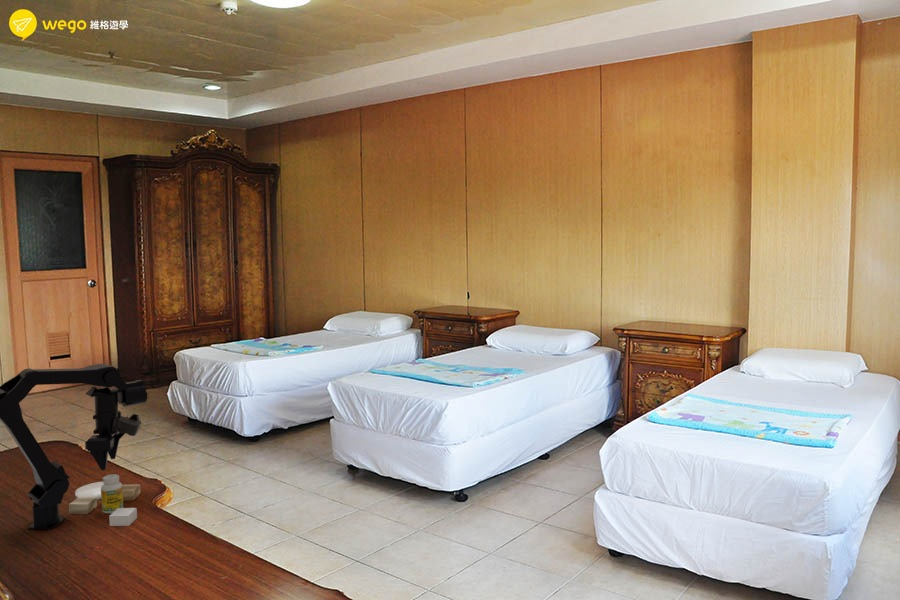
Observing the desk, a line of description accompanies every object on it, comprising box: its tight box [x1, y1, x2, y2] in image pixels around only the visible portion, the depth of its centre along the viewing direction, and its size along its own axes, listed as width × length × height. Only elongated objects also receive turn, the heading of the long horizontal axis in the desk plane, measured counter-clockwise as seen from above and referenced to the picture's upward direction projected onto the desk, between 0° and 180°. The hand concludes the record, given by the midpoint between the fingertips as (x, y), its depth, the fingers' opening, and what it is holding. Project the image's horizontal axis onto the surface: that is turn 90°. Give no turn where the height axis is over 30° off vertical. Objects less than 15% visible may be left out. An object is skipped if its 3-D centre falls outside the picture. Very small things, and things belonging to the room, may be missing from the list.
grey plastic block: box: [108, 507, 138, 527], centre depth 180 cm, size 5×5×3 cm
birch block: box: [68, 497, 98, 515], centre depth 187 cm, size 5×5×3 cm
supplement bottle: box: [100, 473, 124, 514], centre depth 187 cm, size 5×5×10 cm
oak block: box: [122, 484, 141, 501], centre depth 196 cm, size 5×5×3 cm
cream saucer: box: [74, 481, 104, 500], centre depth 200 cm, size 12×12×1 cm
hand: (108, 464), depth 188 cm, fingers open, 9 cm apart
